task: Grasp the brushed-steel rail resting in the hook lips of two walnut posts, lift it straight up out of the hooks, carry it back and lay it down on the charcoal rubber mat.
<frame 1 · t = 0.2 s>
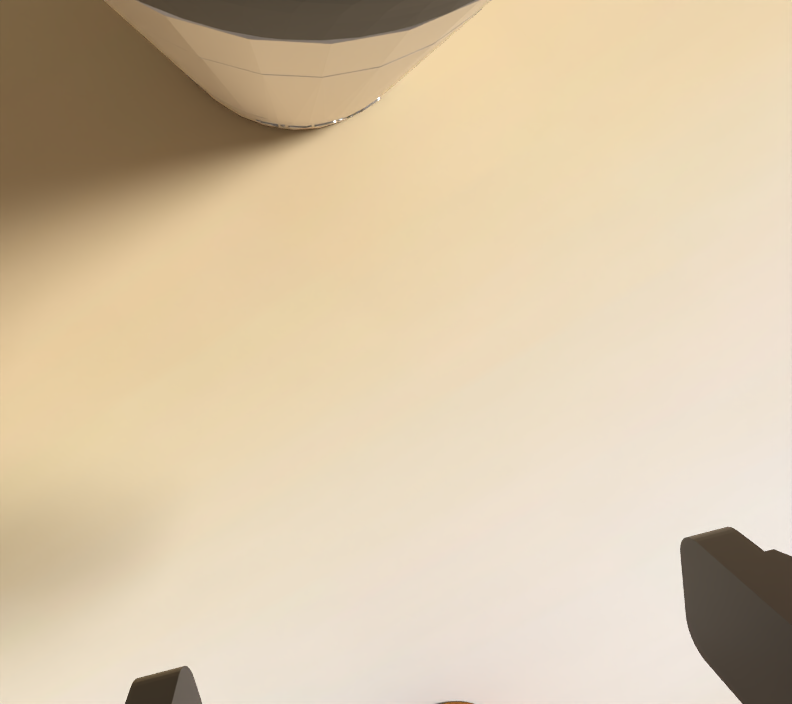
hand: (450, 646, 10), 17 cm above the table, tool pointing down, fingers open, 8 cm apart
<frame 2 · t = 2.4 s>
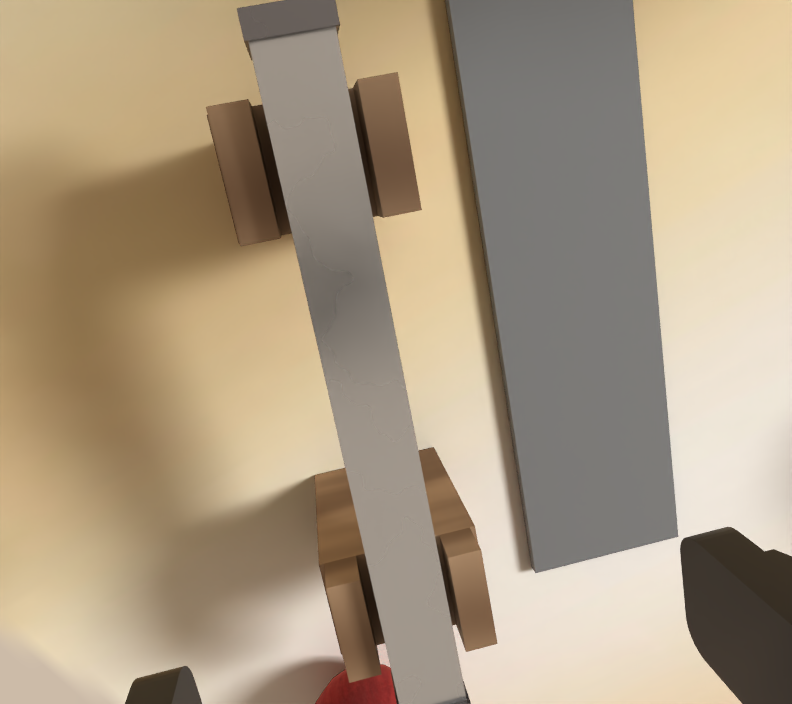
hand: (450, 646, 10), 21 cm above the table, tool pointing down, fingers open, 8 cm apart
post 1: (312, 171, 29), on the table
mat: (572, 296, 32), on the table
post 2: (382, 497, 33), on the table
rail: (366, 396, 23), point 8 cm above the table, touching post 2, post 1
onion: (363, 673, 35), on the table
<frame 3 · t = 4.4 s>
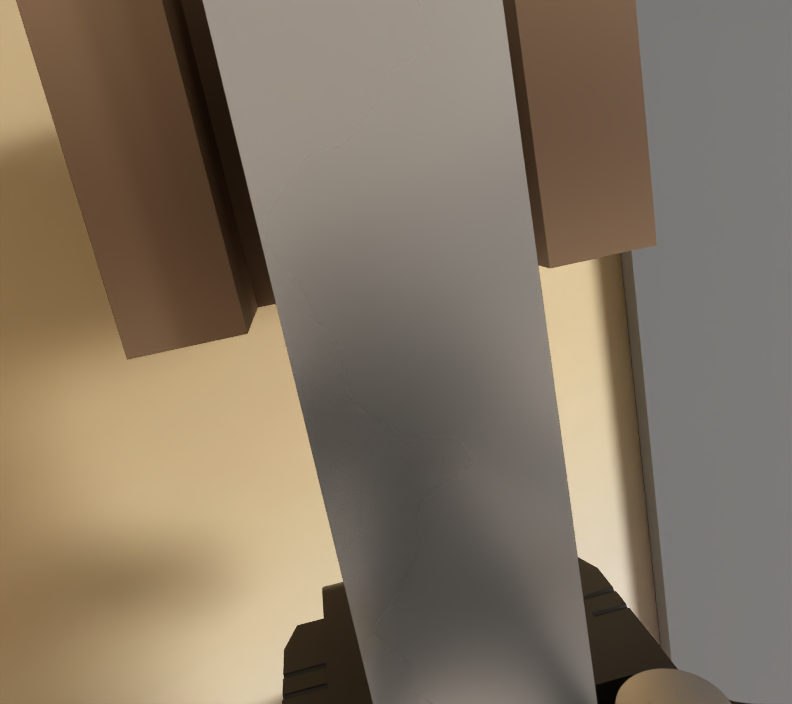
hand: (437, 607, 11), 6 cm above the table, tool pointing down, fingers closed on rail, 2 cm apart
post 1: (326, 155, 15), on the table
mat: (769, 372, 18), on the table
rail: (460, 671, 10), point 8 cm above the table, touching gripper, post 2, post 1
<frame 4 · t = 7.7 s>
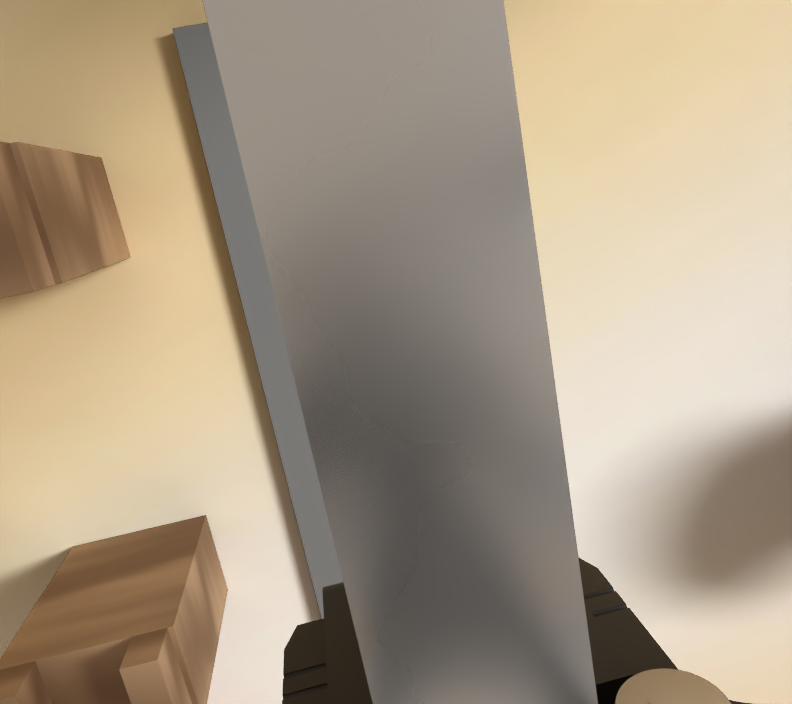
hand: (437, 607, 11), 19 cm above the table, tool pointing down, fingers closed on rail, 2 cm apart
post 1: (40, 223, 26), on the table
mat: (350, 354, 29), on the table
post 2: (152, 568, 30), on the table
rail: (461, 675, 10), point 20 cm above the table, touching gripper
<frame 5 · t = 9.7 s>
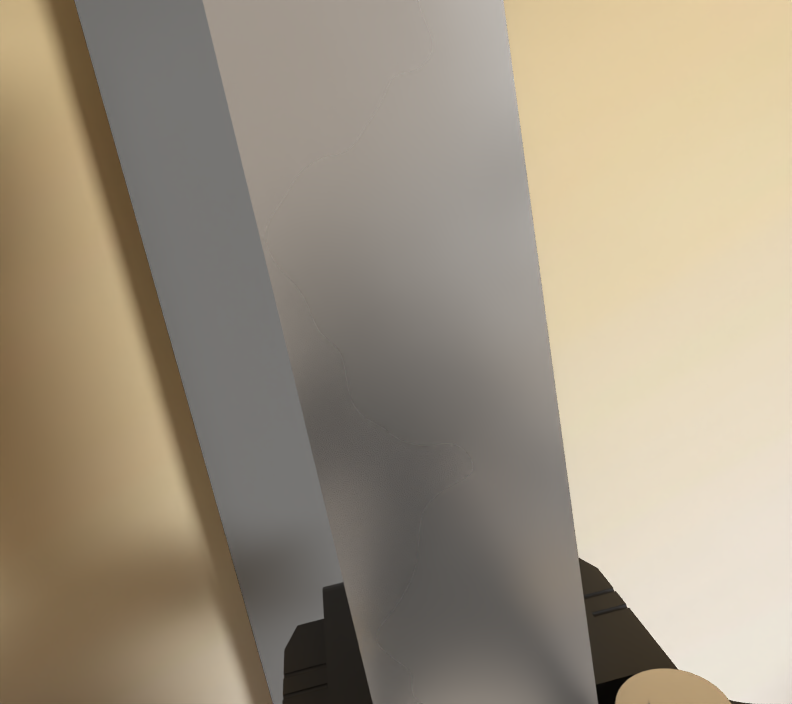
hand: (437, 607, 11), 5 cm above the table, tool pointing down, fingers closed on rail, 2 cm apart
mat: (387, 475, 16), on the table
rail: (461, 676, 10), point 7 cm above the table, touching gripper
when the fingers open (2 cm above the table, at t = 11.2 s): rail drops 3 cm, resting on mat.
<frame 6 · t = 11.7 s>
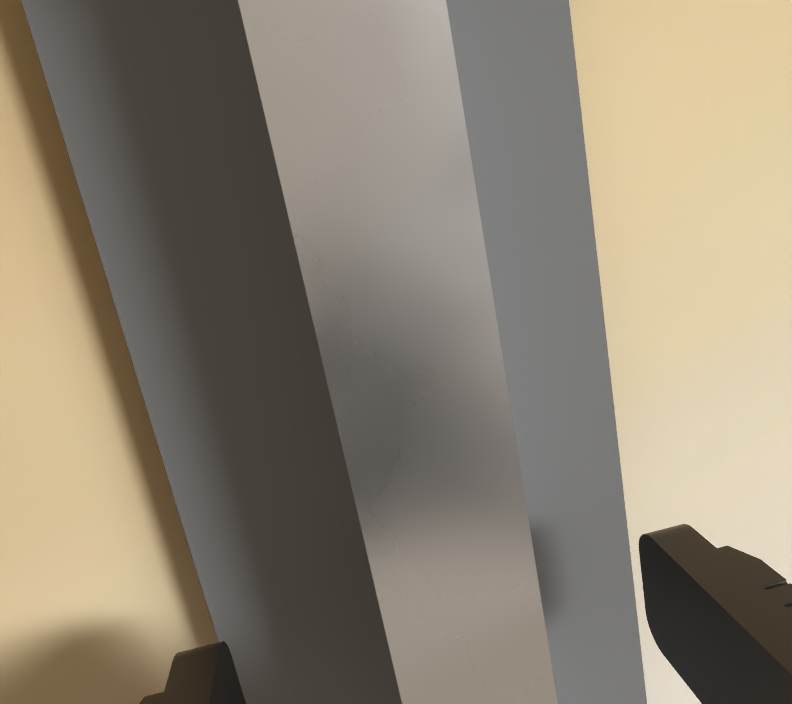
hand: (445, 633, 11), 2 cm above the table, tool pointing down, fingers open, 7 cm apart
mat: (421, 558, 13), on the table
rail: (440, 573, 12), point 1 cm above the table, touching mat
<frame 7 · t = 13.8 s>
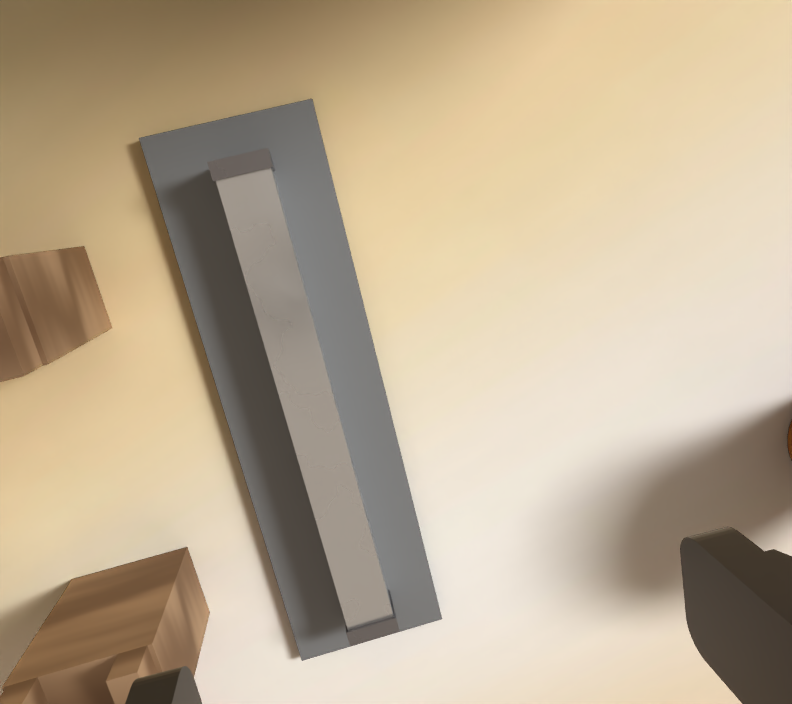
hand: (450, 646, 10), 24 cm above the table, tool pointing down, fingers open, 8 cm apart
post 1: (34, 303, 31), on the table
mat: (306, 400, 33), on the table
post 2: (142, 596, 34), on the table
rail: (311, 403, 33), point 1 cm above the table, touching mat
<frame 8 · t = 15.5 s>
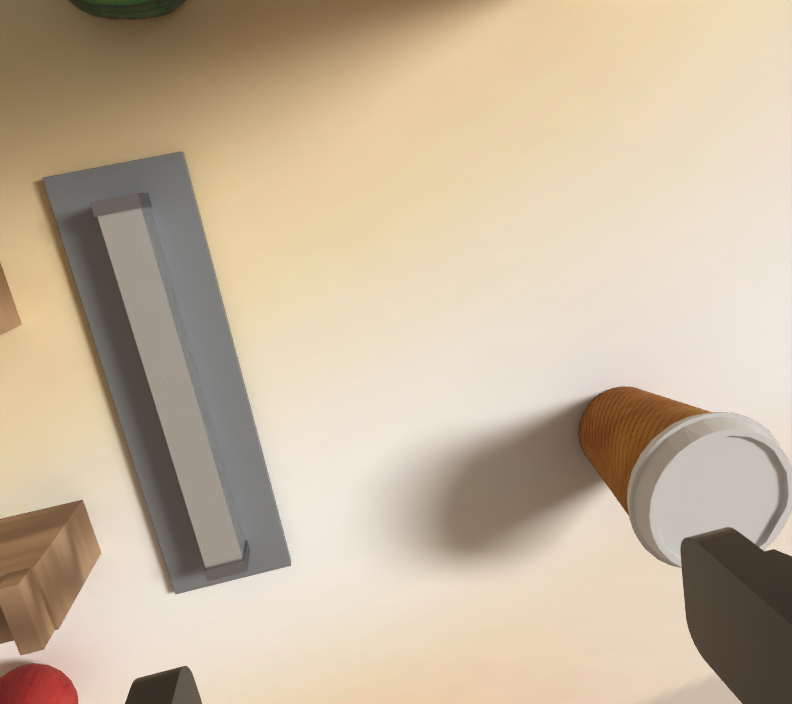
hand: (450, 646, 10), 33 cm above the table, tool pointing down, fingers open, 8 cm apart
disposable coffee cup: (618, 426, 47), on the table
mat: (179, 387, 42), on the table
post 2: (45, 537, 43), on the table
rail: (182, 389, 41), point 1 cm above the table, touching mat
onion: (49, 672, 46), on the table
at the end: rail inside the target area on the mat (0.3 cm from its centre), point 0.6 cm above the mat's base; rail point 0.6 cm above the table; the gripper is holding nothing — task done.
